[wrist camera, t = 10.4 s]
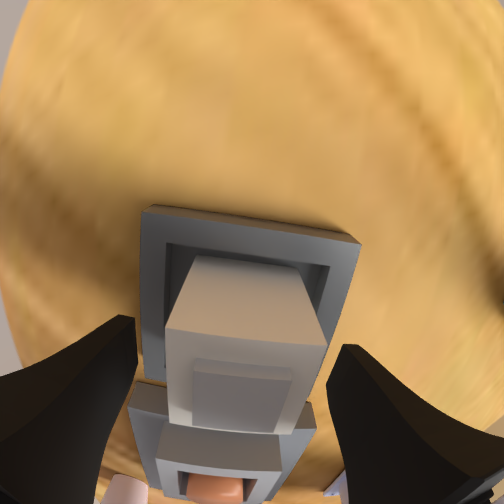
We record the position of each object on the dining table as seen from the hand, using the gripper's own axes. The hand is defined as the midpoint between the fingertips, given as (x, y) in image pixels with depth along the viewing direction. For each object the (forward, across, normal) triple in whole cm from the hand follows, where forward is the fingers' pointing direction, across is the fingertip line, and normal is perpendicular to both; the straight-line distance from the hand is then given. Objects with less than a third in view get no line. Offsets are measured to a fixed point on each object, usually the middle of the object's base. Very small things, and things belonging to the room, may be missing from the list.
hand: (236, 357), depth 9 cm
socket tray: (+3, 0, 0) cm, 3 cm away
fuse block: (+3, 0, 0) cm, 3 cm away
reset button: (+1, 0, +10) cm, 10 cm away
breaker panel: (+3, 0, +12) cm, 12 cm away
